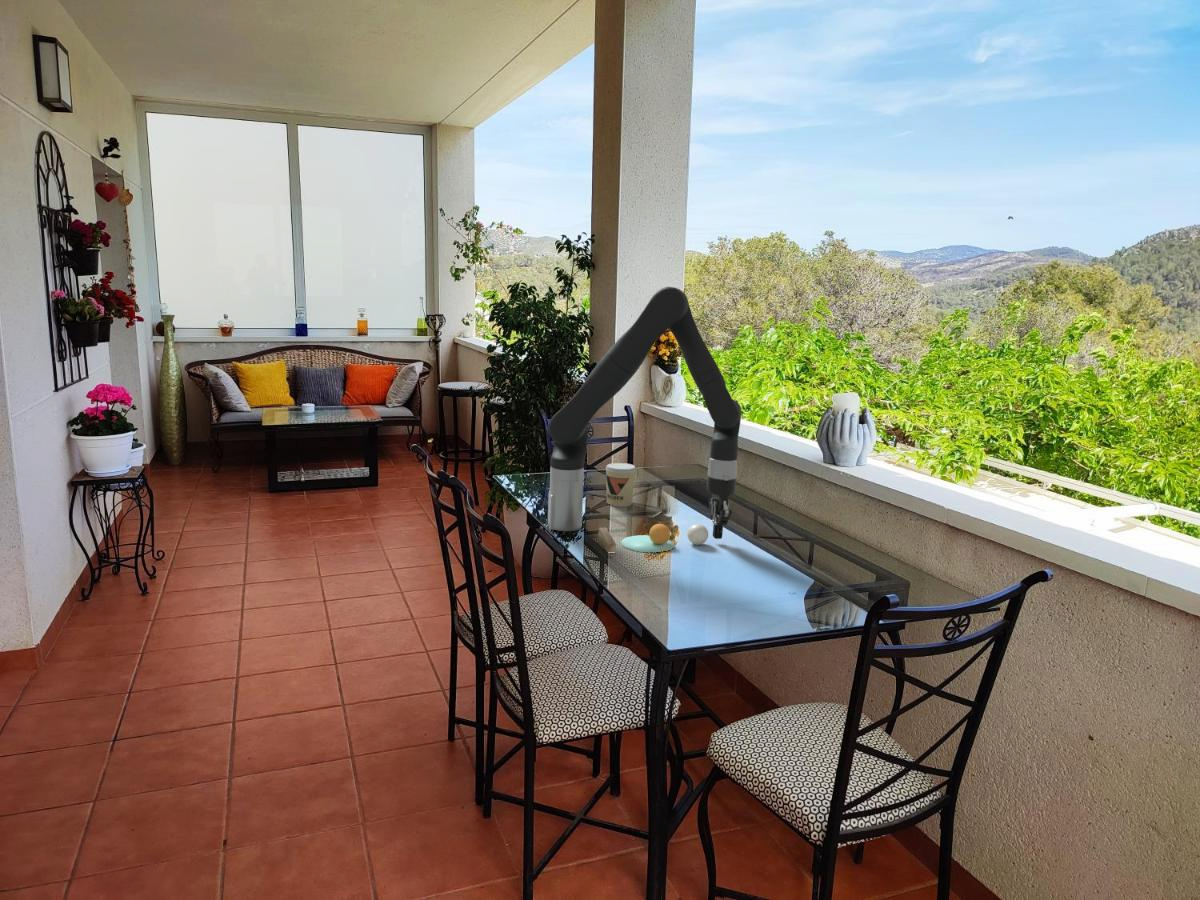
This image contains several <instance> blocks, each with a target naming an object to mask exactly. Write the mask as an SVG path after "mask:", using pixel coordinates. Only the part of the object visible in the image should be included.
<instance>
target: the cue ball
mask: <svg viewBox="0 0 1200 900" xmlns="http://www.w3.org/2000/svg"><path fill="white" fill-rule="evenodd" d="M686 535H687V538H688V540H689V542H690V543H692V544H693V545H695V544H697V545H696V546H700V544H701V545H703V544H704V543H706V542H707V540H708V538H709V531H708V529H707V527H706V526H705V525H703V524H701V523H695V524H693V525H691V526H689V528H688V530H687V534H686Z"/></svg>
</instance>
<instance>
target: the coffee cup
mask: <svg viewBox="0 0 1200 900" xmlns="http://www.w3.org/2000/svg"><path fill="white" fill-rule="evenodd" d="M605 470H606V471H605V473H606V475H605V478H606V479H605V480H606V481H605V483H606V484H605V485H606V503H608V504H607V505H609V504H610V505H609V506H612V505H613V506H612V507H618V508H619V507H622V508H623V506H624V507H625V508H626V507H629V506H631V505H632V502H633V495H634V488H635V487H634V486H635V480H636V478H635V477H636V471H637V468H636V466H635V465H634V464H631V463H625V462H612V463H609V464H607V465H606V466H605Z"/></svg>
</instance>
